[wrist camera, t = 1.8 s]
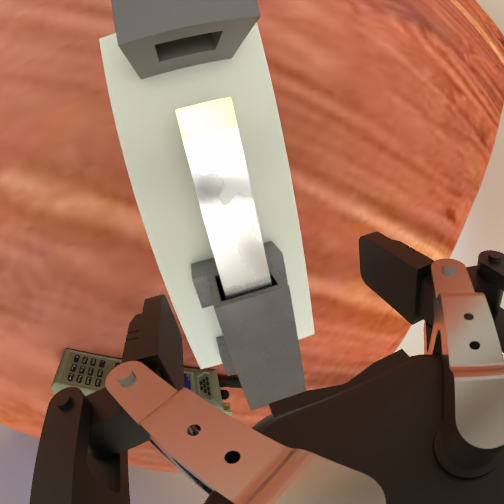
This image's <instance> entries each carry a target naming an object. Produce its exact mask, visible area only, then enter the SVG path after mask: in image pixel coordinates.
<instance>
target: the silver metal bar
mask: <svg viewBox="0 0 504 504" xmlns="http://www.w3.org/2000/svg"><path fill="white" fill-rule="evenodd" d="M176 114H177V118H178V122H179V126H180V130H181V135H182V139H183V143H184V147H185V151H186V155H187V159H188V163H189V167H190V170H191V174H192V178H193V182H194V186H195V190H196V193H197V197H198V201H199V205H200V208H201V212H202V216H203V219H204V223H205V227H206V230H207V234H208V237H209V241H210V245H211V248H212V252H213V255H214V259H215V262H216V266H217V269H218V272H219V276H220V279H221V283H222V286H223V289H224V293H225V296H226V299H227V300H229V299H233V298H236V297H239V296H243V295H246V294H249V293H253V292H256V291H259V290H262V289H266V288H269V287H272V283H271V278H270V274H269V269H268V264H267V259H266V255H265V250H264V245H263V241H262V236H261V231H260V227H259V222H258V217H257V213H256V208H255V203H254V199H253V194H252V190H251V185H250V180H249V176H248V171H247V167H246V162H245V158H244V153H243V149H242V144H241V140H240V135H239V131H238V127H237V122H236V118H235V113H234V109H233V105H232V100H231V97H229V98H224V99H219V100H214V101H210V102H206V103H201V104H197V105H193V106H189V107H185V108H181V109H177V110H176Z"/></svg>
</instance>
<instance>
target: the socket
mask: <svg viewBox="0 0 504 504" xmlns="http://www.w3.org/2000/svg"><path fill="white" fill-rule="evenodd" d="M111 1H112V9H113V16H114V23H115V30H116V36H117V42H118V46H119V48H120V49H121V51H122V52H123V54H124V55H125V57H126V58H127V60H128V61H129V63H130V64H131V65H132V67H133V68H134V70H135V71H136V73H137V74H138V76H139V77H140V79H141V80H142V79H145V78H148V77H152V76H155V75H159V74H162V73H166V72H170V71H174V70H177V69H182V68H186V67H190V66H195V65H199V64H204V63H209V62H214V61H219V60H225V59H231V58H232V57H233V56H234V54H235V53H236V51H237V50H238V48H239V47H240V45H241V44H242V42H243V41H244V39H245V38H246V36H247V35H248V34H249V32H250V31H251V29H252V28H253V26H254V25H255V24H256V22H257V21H258V19H259V18H260V17H261V15H260V12H259V8H258V4H257V1H256V0H111Z"/></svg>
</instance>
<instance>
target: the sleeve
mask: <svg viewBox="0 0 504 504" xmlns="http://www.w3.org/2000/svg"><path fill="white" fill-rule="evenodd" d="M263 245H264V250H265V255H266V259H267V264H268V269H269V274H270V278H271V283H272V287H269V288H266V289H262V290H259V291H256V292H253V293H249V294H246V295H243V296H239V297H236V298H233V299H229V300H227V299H226V296H225V293H224V289H223V286H222V283H221V279H220V276H219V272H218V269H217V266H216V262H215V259H214V257H213V258H210V259H206V260H203V261H199V262H196V263H193V264H191V273H192V281H193V284H194V286H195V289H196V292H197V295H198V298H199V301H200V304H201V307H202V308H206V307H209V306H214V310H215V313H216V316H217V319H218V322H219V325H220V328H221V330H222V333H223V335H222V336H219V337H216V340H217V345H218V349H219V354H220V358H221V360H222V363H223V365H224V368H225V370H226V373H227V375H228V376H231V375H234V374H237V375H238V378H239V380H240V383H241V386H242V388H243V391H244V394H245V396H246V399H247V402H248V404H249V407H250V409H251V410H255V409H258V408H261V407H264V406H268V405H269V403H272V402H275V401H278V400H281V399H284V398H287V397H290V396H293V395H296V394H299V393H301V392H304V391H306V387H305V380H304V374H303V367H302V361H301V354H300V348H299V342H298V335H297V329H296V323H295V317H294V311H293V305H292V299H291V293H290V288H289V285H288V284H287V283H288V280H287V275H286V269H285V264H284V258H283V253H282V252H281V251H280V250H279V248H278V247H277V246H276V245H275V244H274V243H273V242H272V241H269V242H265V243H263Z"/></svg>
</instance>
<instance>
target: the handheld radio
mask: <svg viewBox="0 0 504 504" xmlns="http://www.w3.org/2000/svg"><path fill="white" fill-rule="evenodd" d="M121 362H122V359H118V358H112V357H106V356H101V355H96V354H91V353H86V352H81V351H76V350H72V349H67V348H66V349H65V351H64V353H63V356H62V359H61V361H60V364H59V367H58V369H57V372H56V375H55V378H54V381H53V384H52V386H51V387H52V391H53V394H54V395H55V394H56V393H58V392H59V391H60V390H62V389H64V388H67V387H77V388H79V389H80V390H81V391H82V392H83V394H84V395H85V396H87V395H89V394H91V393H93V392H96V391H98V390H100V389H102V388H104V387H106V386H105V381H106V378H107V376H108V374H109V373H110V372H111V371H112V370H113V369H114V368H115V367H116V366H118V365H120V364H121ZM183 368H184V384H185V388H187V389H189V390H191V391H192V392H194V393H195V394H197V395H198V396H200V397H201V398H203V399H204V400H206V401H207V402H209V403H210V404H212V405H213V406H215V407H217V408H218V409H220V410H221V411H223V412H225V413H226V414H228V415H230V416H231V415H232V411H228V410H230V403H223V402H222V399H224V400H225V399H227V398H228V397H229V393H228V391H227V390H221V389H220V387H232V388H242V386H241V383H240V380H239V378H229V379H224V378H221V377H218V376H217V371H216V370H209V369H196V368H186V367H183ZM220 390H221V391H220Z"/></svg>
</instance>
